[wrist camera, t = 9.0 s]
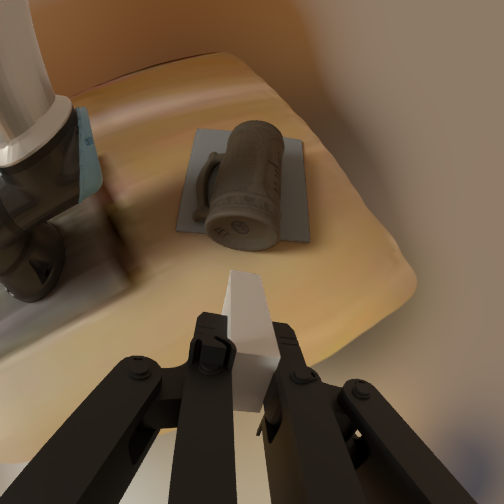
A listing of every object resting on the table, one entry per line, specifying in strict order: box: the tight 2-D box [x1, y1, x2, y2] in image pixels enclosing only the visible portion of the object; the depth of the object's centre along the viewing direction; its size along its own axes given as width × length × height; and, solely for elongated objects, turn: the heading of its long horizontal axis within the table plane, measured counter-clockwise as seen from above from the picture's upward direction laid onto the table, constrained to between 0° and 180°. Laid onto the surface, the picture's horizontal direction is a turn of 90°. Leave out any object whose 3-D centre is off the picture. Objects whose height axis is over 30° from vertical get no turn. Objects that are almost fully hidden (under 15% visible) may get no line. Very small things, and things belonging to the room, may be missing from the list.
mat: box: [176, 129, 310, 243], centre depth 50 cm, size 24×22×1 cm
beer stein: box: [192, 120, 285, 251], centre depth 43 cm, size 15×11×20 cm
